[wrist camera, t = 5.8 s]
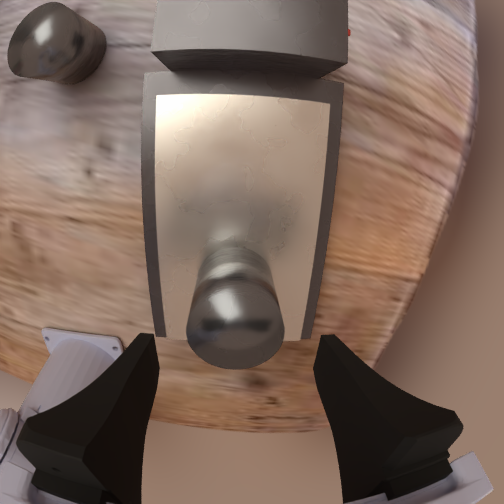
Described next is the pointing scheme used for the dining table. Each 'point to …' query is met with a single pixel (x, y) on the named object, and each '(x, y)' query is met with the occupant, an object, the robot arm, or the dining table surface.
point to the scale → (241, 147)
